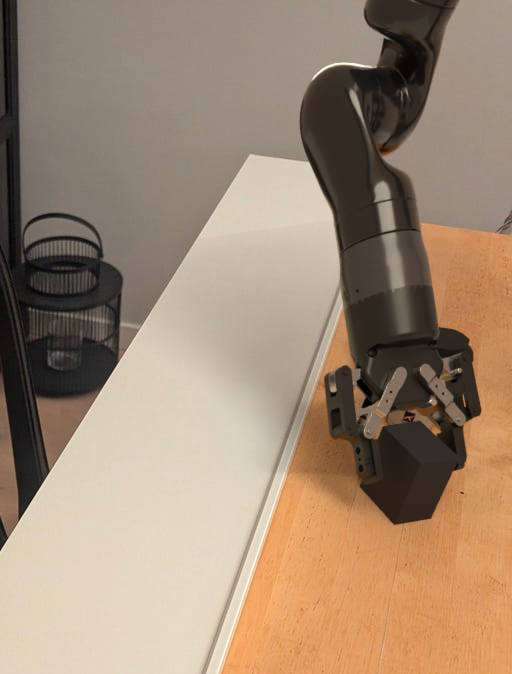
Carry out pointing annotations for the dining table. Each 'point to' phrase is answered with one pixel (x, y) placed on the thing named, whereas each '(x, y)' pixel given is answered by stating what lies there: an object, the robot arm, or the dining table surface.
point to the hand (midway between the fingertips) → (414, 476)
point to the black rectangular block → (411, 472)
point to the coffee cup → (446, 347)
